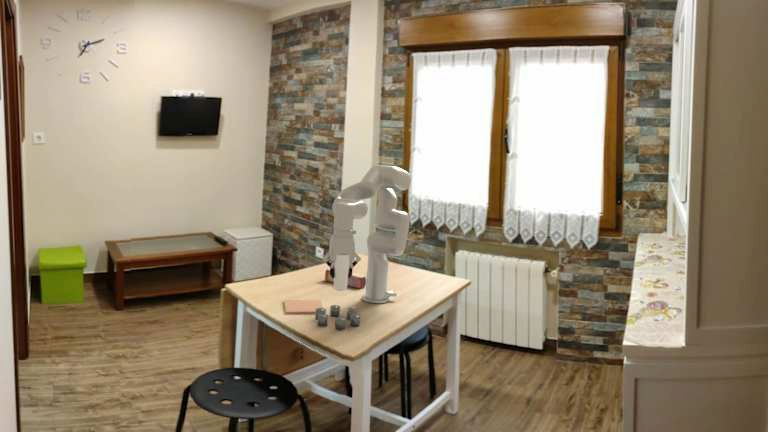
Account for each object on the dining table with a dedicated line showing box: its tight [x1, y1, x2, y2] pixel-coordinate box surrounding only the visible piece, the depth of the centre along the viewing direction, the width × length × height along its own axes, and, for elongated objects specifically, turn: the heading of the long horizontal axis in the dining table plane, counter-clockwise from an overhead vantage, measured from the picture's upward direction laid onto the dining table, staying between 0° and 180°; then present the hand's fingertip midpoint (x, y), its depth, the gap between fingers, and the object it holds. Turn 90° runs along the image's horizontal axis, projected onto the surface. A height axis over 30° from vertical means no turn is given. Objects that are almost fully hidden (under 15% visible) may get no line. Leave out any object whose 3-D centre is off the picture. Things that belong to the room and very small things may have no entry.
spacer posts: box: [314, 304, 361, 331], centre depth 243 cm, size 17×19×4 cm
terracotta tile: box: [283, 299, 324, 315], centre depth 258 cm, size 16×16×1 cm
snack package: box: [324, 267, 367, 290], centre depth 299 cm, size 21×7×7 cm, turn 62°
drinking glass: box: [333, 254, 350, 292], centre depth 241 cm, size 7×7×15 cm
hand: (340, 276), depth 241 cm, fingers closed on drinking glass, 6 cm apart
